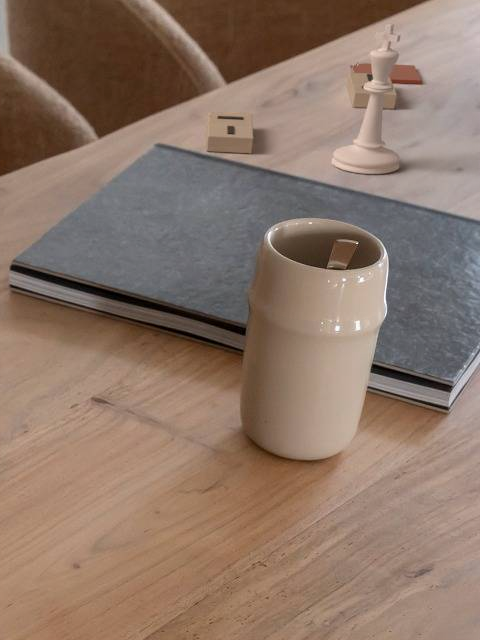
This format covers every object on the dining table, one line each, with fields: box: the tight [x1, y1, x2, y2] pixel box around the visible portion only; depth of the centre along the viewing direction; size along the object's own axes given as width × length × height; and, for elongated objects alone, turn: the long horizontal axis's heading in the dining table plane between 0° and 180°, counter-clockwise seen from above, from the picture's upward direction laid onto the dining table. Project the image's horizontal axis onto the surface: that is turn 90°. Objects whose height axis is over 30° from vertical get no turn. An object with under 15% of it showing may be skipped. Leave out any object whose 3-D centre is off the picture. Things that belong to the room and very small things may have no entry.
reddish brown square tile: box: [352, 62, 422, 85], centre depth 132 cm, size 6×6×1 cm
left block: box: [206, 111, 254, 154], centre depth 115 cm, size 3×7×1 cm, turn 169°
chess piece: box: [330, 23, 402, 175], centre depth 107 cm, size 5×5×10 cm
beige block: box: [346, 72, 398, 110], centre depth 125 cm, size 3×7×1 cm, turn 169°
